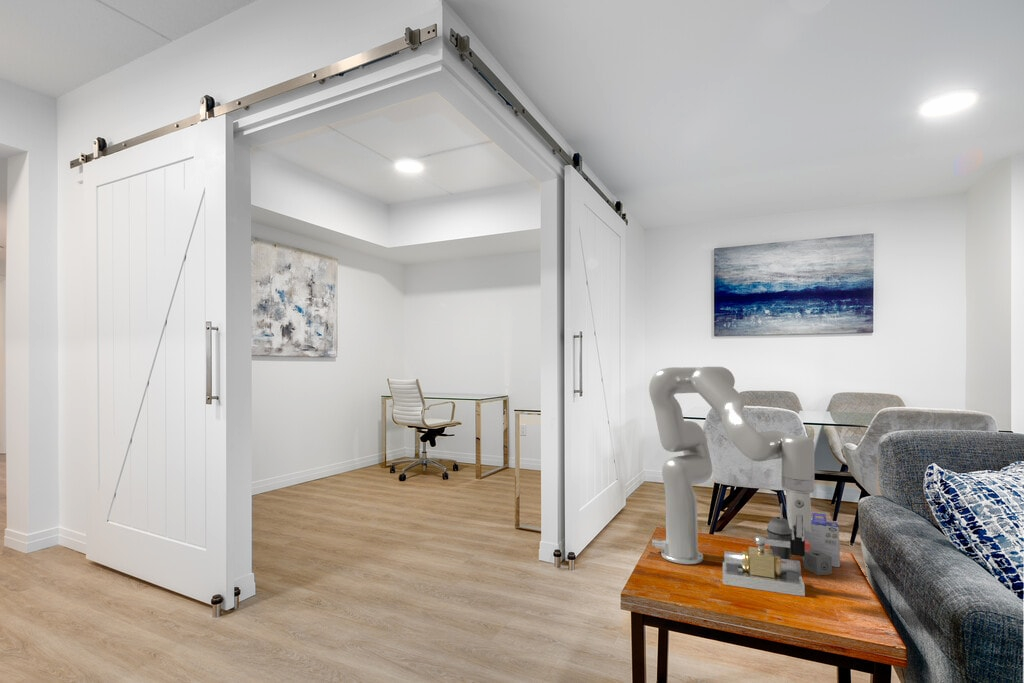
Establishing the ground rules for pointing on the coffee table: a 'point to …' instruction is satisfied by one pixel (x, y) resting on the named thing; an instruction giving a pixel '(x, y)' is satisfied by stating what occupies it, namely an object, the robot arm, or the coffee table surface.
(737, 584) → the pipe valve board
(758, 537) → the valve lever
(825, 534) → the ink cartridge box
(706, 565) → the coffee table surface
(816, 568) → the dice cube
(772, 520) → the beverage cup
